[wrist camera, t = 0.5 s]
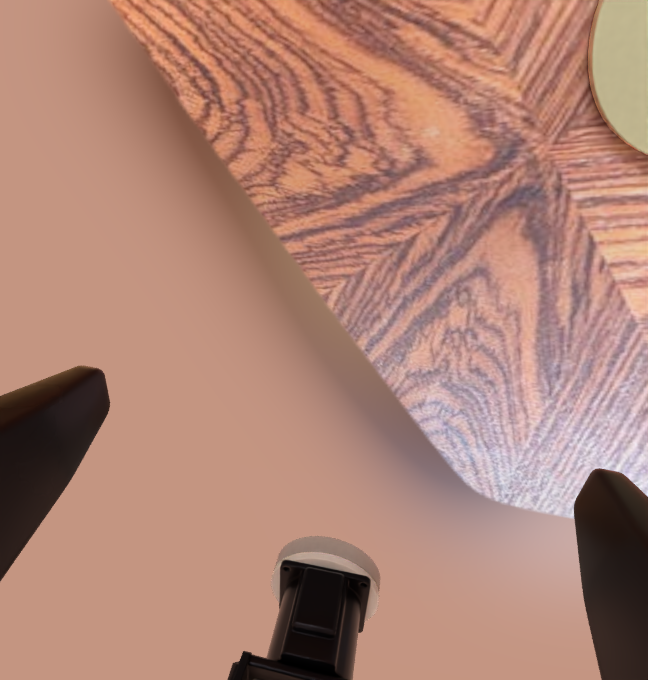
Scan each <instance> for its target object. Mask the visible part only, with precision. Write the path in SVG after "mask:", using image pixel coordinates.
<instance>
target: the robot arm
mask: <svg viewBox="0 0 648 680" xmlns="http://www.w3.org/2000/svg"><path fill="white" fill-rule="evenodd" d="M109 407H110V400H109V395H108V390H107V385H106V379H105V375H104V373H103V371H102V370H100V369H98V368H93V367H88V366H77V367H75V368H72V369H69V370H67V371H64V372H61V373H59V374H56V375H54V376H51V377H48V378H46V379H43V380H41V381H38V382H36V383H33V384H30V385H28V386H25V387H23V388H20V389H17V390H15V391H12V392H10V393H7V394H4V395H2V396H0V581H1V580H2V578H3V577H4V575H5V574H6V573H7V571H8V570H9V568H10V567H11V565H12V564H13V563H14V561H15V560H16V558H17V557H18V555H19V554H20V553H21V551H22V550H23V548H24V547H25V545H26V544H27V543H28V541H29V539H30V538H31V537H32V535H33V534H34V532H35V531H36V530H37V528H38V527H39V525H40V524H41V522H42V521H43V520H44V518H45V517H46V515H47V514H48V512H49V511H50V510H51V508H52V506H53V505H54V504H55V502H56V501H57V500H58V498H59V497H60V495H61V494H62V492H63V491H64V489H65V488H66V486H67V485H68V483H69V482H70V480H71V479H72V477H73V475H74V474H75V472H76V470H77V468H78V466H79V465H80V463H81V461H82V459H83V458H84V456H85V454H86V452H87V450H88V448H89V446H90V445H91V443H92V441H93V439H94V438H95V436H96V434H97V432H98V430H99V429H100V427H101V425H102V423H103V422H104V420H105V418H106V416H107V414H108V411H109ZM574 517H575V526H576V535H577V545H578V554H579V563H580V572H581V581H582V589H583V596H584V602H585V607H586V612H587V616H588V621H589V626H590V630H591V634H592V639H593V643H594V648H595V652H596V657H597V660H598V666H599V670H600V674H601V678H602V680H648V497H647V496H646V495H645V494H644V493H643V492H642V491H641V490H640V489H639V488H638V487H637V486H636V485H635V484H634V483H633V482H631V481H630V480H629V479H628V478H627V477H626V476H625V475H624V474H622V473H619V472H616V471H611V470H606V469H600V468H599V469H595V470H593V471H592V472H591V474H590V475H589V477H588V479H587V481H586V482H585V484H584V486H583V488H582V489H581V491H580V493H579V495H578V496H577V498H576V501H575V505H574ZM370 586H371V579H370V578H369V577H368V576H365V575H360V574H355V573H350V572H345V571H340V570H336V569H331V568H326V567H321V566H316V565H311V564H306V563H301V562H297V561H292V560H283V561H282V562H281V566H280V601H279V602H280V603H279V609H280V610H279V614H278V618H277V622H276V625H275V629H274V633H273V636H272V640H271V644H270V647H269V651H268V655H267V658H263V657H259V656H255V655H252V653H251V652H246V651H243V653H242V656H241V659H240V661H239V662H235V663H233V665H232V668H231V671H230V674H229V677H228V680H352V679H353V670H354V663H355V654H356V646H357V638H358V633H361V632H362V631H363V627H364V621H365V615H366V609H367V604H368V598H369V592H370Z"/></svg>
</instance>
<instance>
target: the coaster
mask: <svg viewBox="0 0 648 680" xmlns="http://www.w3.org/2000/svg"><path fill="white" fill-rule="evenodd" d="M588 74H589V80H590V87H591V91H592V94H593V97H594V101H595V104H596V106H597V108H598V110H599V112H600V114H601V116H602V118H603V119H604V121H605V122H606V124H607V125H608V126H609V128H610V129H611V130H612V131H613V132H614V133H615V134H616V135H617V136H618V137H619V138H620V139H621V140H622V141H623V142H625V143H626V144H628V145H629V146H630V147H632V148H633V149H635V150H637V151H639V152H641V153H643V154H646V155H648V0H599V3H598V5H597V8H596V11H595V14H594V18H593V23H592V27H591V32H590V38H589V47H588Z"/></svg>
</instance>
